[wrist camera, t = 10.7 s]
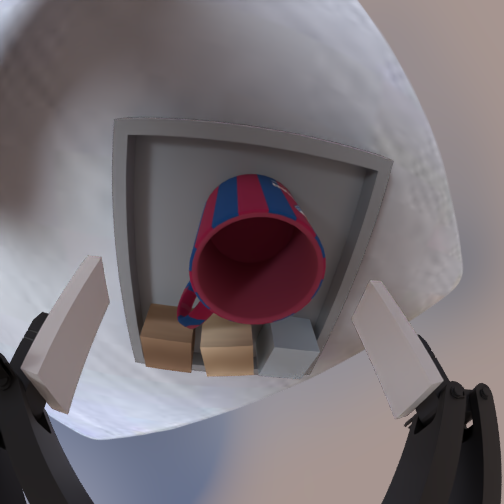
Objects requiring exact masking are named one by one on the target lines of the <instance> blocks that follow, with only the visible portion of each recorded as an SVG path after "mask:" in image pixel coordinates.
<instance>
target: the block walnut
mask: <svg viewBox="0 0 504 504" xmlns="http://www.w3.org/2000/svg"><path fill="white" fill-rule="evenodd" d="M177 307H178V306H170V305H162V304H154V303H151V305H150V307H149V310H148V313H147V316H146V319H145V322H144V325H143V328H142V331H141V335H140V339H141V344H142V350H143V355H144V359H145V364H146V367H152V368H158V369H165V370H172V371H180V372H188V373H191V371H192V362H193V353H194V344H195V328H194V329H189V328H187V327H184V326H183V325H181V324H180V323H179V322H178V320H177ZM193 309H194V308H192V310H193ZM192 310H191V311H192Z"/></svg>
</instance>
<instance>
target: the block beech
mask: <svg viewBox="0 0 504 504" xmlns="http://www.w3.org/2000/svg"><path fill="white" fill-rule="evenodd" d="M200 349H201V354H202V358H203V362H204V366H205V370H206V374H207V376H242V375H254V366H253V340H252V328H251V325H250V324H241V323H236V322H232V321H229V320H227V319H224V318H221V317H220V316H218V315H216V314H215V313H213V314H212V315H211V316H210V317H209V318H208V319H207V320H206V321H205V322H204V323H203V324H202V333H201V343H200Z"/></svg>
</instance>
